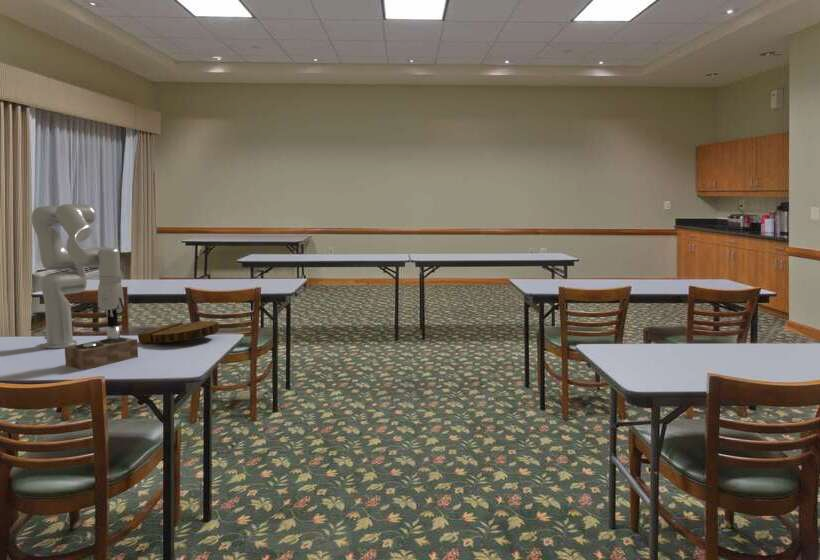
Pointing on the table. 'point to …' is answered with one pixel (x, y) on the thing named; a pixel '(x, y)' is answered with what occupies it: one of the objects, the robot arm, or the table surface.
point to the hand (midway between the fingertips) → (113, 326)
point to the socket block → (100, 353)
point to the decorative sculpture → (179, 332)
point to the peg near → (89, 344)
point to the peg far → (113, 333)
